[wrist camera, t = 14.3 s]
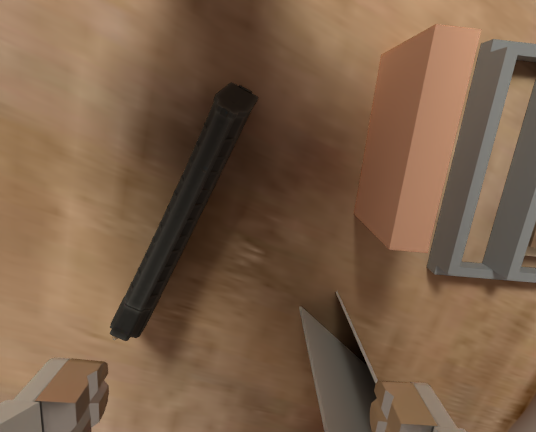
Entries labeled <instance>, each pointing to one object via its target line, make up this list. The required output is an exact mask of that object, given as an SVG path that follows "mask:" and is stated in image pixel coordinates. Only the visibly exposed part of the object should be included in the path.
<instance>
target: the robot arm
mask: <svg viewBox="0 0 536 432" xmlns="http://www.w3.org/2000/svg"><path fill="white" fill-rule="evenodd" d="M107 374H108V364H107V363H106V362H104V361H93V360H82V359H68V358H57V357H54V358H52V359H49V360H48V361H47V362H46V364H45V365H44V366H43V367H42V368H41V369H40V370H39V371H38V372H37V374H36V375H35V376H34V377H33V378H32V379H31V380H30V381H29V382H28V384H27V385H26V386H25V387H24V388H23V389H22V390H21V391H20V392H19V394H18V395H17V396H16V397H15V398H14V399H13V400H6V401H4V402H2V403H0V432H91V427H93V426H94V425H95V424H97V423H98V422H99V421H100V419H101V418H102V416H103V414H104V411H105V408H106V405H107V402H108V395H109V386H108V385H107V383H106V382H105V381H104V379H105V378H106V376H107ZM374 392H375V395H376V397H377V398H376V399H375V400H374V401H373V402H372V403H371V407H370V426H371V431H372V432H467V431H465V430H464V429H462V428H457V426H456V425H455V423H454V422H453V420H452V419H451V417H450V416H449V414H448V412H447V411H446V409H445V408H444V406H443V405H442V403H441V402H440V400H439V399H438V397H437V396H436V394H435V392H434V391H433V389H432V388H431V386H430V385H429V384H427V383H419V382H410V383H409V382H395V381H377V383H376V385H375V389H374Z"/></svg>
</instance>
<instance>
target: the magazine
mask: <svg viewBox="0 0 536 432" xmlns="http://www.w3.org/2000/svg"><path fill="white" fill-rule="evenodd" d="M257 100H258V97H257V96H256V95H254V94H252V92H251V91H250V90H248V89H246V88H244V87H242V86H241V85H239V86H238V85H236V84H234V83H230V84H228V85H227V86H226V87H225V88H223V89H222V90H221V91H219V92H218V93H217V94H216V95H215V98H214V103H213V105H212V108H211V110H210V113H209V115H208V117H207V120H206V122H205V124H204V127H203V129H202V131H201V134H200V136H199V138H198V141H197V142H196V145H195V148H194V150H193V152H192V154H191V157H190V158H189V161H188V163H187V166H186V168H185V170H184V172H183V175H182V176H181V179H180V181H179V183H178V186H177V188H176V190H175V191H174V194H173V197H172V199H171V201H170V203H169V205H168V207H167V210H166V212H165V214H164V216H163V218H162V220H161V222H160V224H159V227H158V229H157V231H156V233H155V235H154V237H153V240H152V242H151V244H150V246H149V248H148V250H147V252H146V254H145V256H144V258H143V260H142V263H141V265H140V267H139V268H138V271H137V273H136V275H135V277H134V279H133V281H132V282H131V285H130V287H129V289H128V291H127V293H126V295H125V297H124V298H123V300H122V302H121V304H120V306H119V308H118V310H117V312H116V314H115V316H114V318H113V320H112V322H111V326H110V328H112V330H111V332H110V334H111V335H112V336H113V340H116V339H118V338H119V339H122V340H124V341H128V340H129V338H130V337H134V338H137V337H139V336H140V335H141V333H142V331H143V330H144V328H145V326H146V325H147V323H148V321H149V319H150V317H151V315H152V313H153V311H154V309H155V307H156V305H157V303H158V301H159V299H160V297H161V294H162V292H163V290H164V288H165V286H166V284H167V282H168V280H169V278H170V276H171V274H172V272H173V270H174V268H175V266H176V264H177V262H178V260H179V258H180V256H181V254H182V252H183V250H184V248H185V246H186V244H187V242H188V240H189V238H190V236H191V233H192V231H193V229H194V227H195V225H196V223H197V221H198V219H199V217H200V215H201V213H202V211H203V209H204V207H205V205H206V203H207V201H208V199H209V197H210V195H211V193H212V191H213V189H214V186H215V184H216V182H217V180H218V178H219V176H220V174H221V172H222V170H223V168H224V166H225V164H226V162H227V160H228V158H229V156H230V153H231V151H232V149H233V147H234V145H235V143H236V141H237V139H238V137H239V135H240V133H241V131H242V129H243V126H244V124H245V122H246V120H247V118H248V116H249V114H250V112H251V110H252V108H253V106H254V105H255V103H256V102H257Z"/></svg>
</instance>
